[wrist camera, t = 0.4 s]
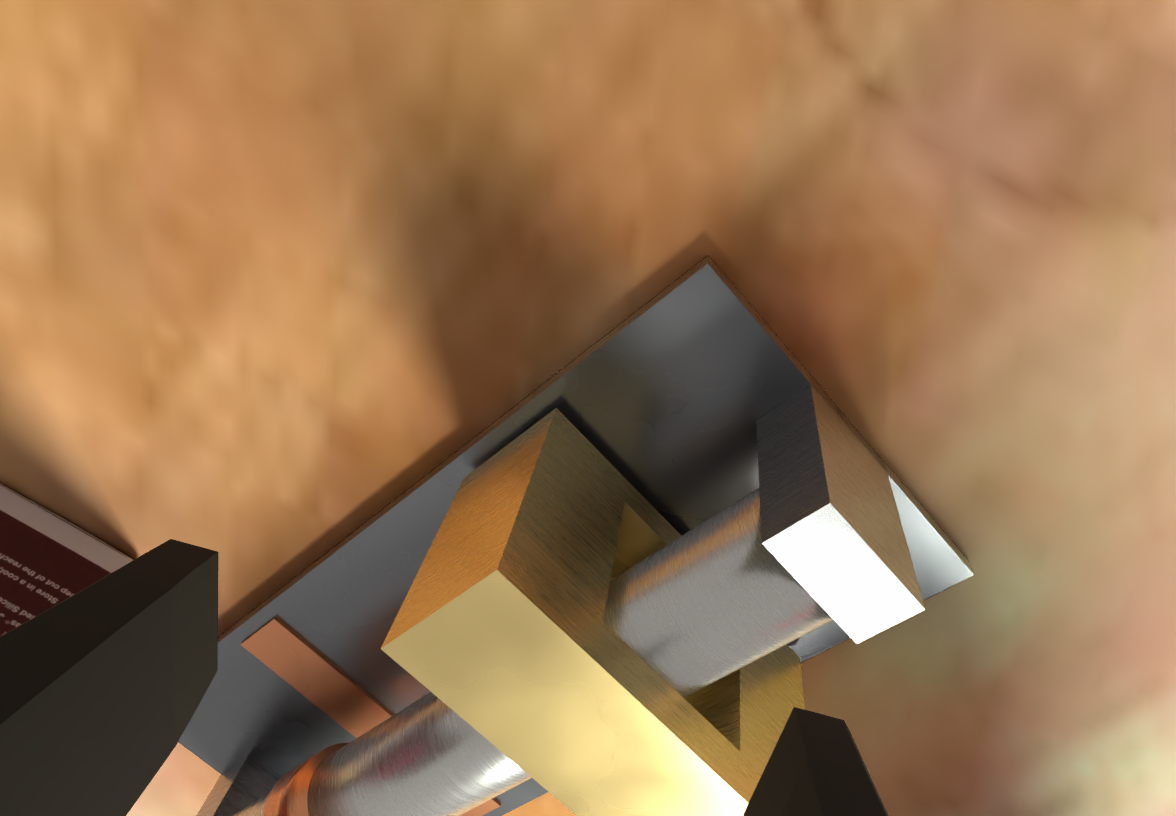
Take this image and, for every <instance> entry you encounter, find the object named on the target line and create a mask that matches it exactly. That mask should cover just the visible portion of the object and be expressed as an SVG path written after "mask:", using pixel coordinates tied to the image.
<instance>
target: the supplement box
mask: <svg viewBox="0 0 1176 816" xmlns="http://www.w3.org/2000/svg"><path fill="white" fill-rule="evenodd" d="M131 561H133V559H131V558H130V557H128V556H126V555H125V554H123V553H121V552H120V551H118V550H116V549H115V548H113V547H111V546H110V545H108V544H106V543H105V542H103V541H101V540H100V539H98V538H96V537H94V536H93V535H91V534H89V533H87V532H86V531H84V530H83V529H81V528H79V527H77V526H76V525H74V524H72V523H70V522H69V521H67V520H65V519H63V518H62V517H60V516H58V515H56V514H54V513H53V512H51V511H49V510H47V509H45V508H43V507H42V506H40V505H38V504H36V503H35V502H33V501H31V500H29V499H27V498H25V497H24V496H22V495H20V494H18V493H17V492H15V491H13V490H11V489H9V488H7V487H6V486H4V485H2V484H0V636H2V635H3V634H5V633H7V632H9V631H11V630H12V629H14V628H16V627H18V626H20V625H21V624H23V623H25V622H27V621H29V620H30V619H32V618H34V617H36V616H38V615H39V614H41V613H43V612H45V611H47V610H48V609H50V608H52V607H54V606H55V605H57V604H59V603H61V602H62V601H64V600H66V599H68V598H69V597H71V596H73V595H74V594H76V593H78V592H80V591H81V590H83V589H85V588H87V587H88V586H90V585H92V584H93V583H95V582H97V581H99V580H100V579H102V578H104V577H105V576H107V575H109V574H111V573H112V572H114V571H116V570H117V569H119V568H121V567H123V566H124V565H126V564H128V563H129V562H131Z"/></svg>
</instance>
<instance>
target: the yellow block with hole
mask: <svg viewBox="0 0 1176 816" xmlns="http://www.w3.org/2000/svg"><path fill="white" fill-rule="evenodd" d="M680 536H681V535H680V534H679V533H678V532H677V531H676V530H675V529H674V528H673V527H672V525H671V524H670V523H669V522H668V521H667V520H666V519H665V518H664V517H663V516H662V515H661V514H660V513H659V512H658V511H657V510H656V509H655V508H654V507H653V506H652V505H651V504H650V503H649V502H648V501H647V500H646V499H645V498H644V497H643V496H642V495H641V494H640V493H639V492H638V491H637V490H636V489H635V488H634V487H633V485H632V484H631V483H630V482H629V481H628V480H627V479H626V478H625V477H624V476H623V475H622V474H621V473H620V472H619V471H618V470H617V469H616V468H615V467H614V466H613V465H612V464H611V463H610V462H609V461H608V460H607V459H606V458H605V457H604V456H603V455H602V454H601V453H600V452H599V451H598V450H597V449H596V448H595V447H594V446H593V444H592V443H591V442H590V441H589V440H588V439H587V438H586V437H585V436H584V435H583V434H582V433H581V432H580V431H579V430H578V429H577V428H576V427H575V426H574V425H573V424H572V423H571V422H570V421H569V420H568V419H567V418H566V417H565V416H564V415H563V414H562V413H561V412H560V411H559V410H558V409H557V408H555V409H554V410H553V411H551V412H550V413H549V414H547V415H546V416H545V417H543V418H542V419H541V420H539V421H538V422H537V423H536V424H534V425H533V426H532V427H530V428H529V429H528V430H526V431H525V432H524V433H522V434H521V435H520V436H518V437H517V438H516V439H514V440H513V441H512V442H510V443H509V444H508V445H506V446H505V447H504V448H503V449H501V450H500V451H499V452H497V453H496V454H495V455H493V456H492V457H491V458H489V459H488V460H487V461H485V462H484V463H483V464H481V465H480V466H479V467H477V468H476V469H475V470H473V471H472V472H471V473H470V474H468V475H467V476H466V477H464V479H463V481H462V483H461V485H460V487H459V489H458V491H457V493H456V495H455V497H454V499H453V501H452V503H451V505H450V507H449V509H448V511H447V514H446V516H445V518H444V520H443V522H442V524H441V526H440V528H439V530H438V532H437V534H436V536H435V538H434V540H433V542H432V544H431V546H430V548H429V550H428V552H427V554H426V557H425V559H424V561H423V563H422V565H421V567H420V569H419V571H418V573H417V575H416V577H415V579H414V581H413V583H412V585H411V587H410V589H409V591H408V593H407V595H406V598H405V600H404V602H403V604H402V606H401V608H400V610H399V612H398V614H397V616H396V618H395V620H394V622H393V624H392V626H391V628H390V630H389V632H388V634H387V636H386V639H385V641H384V643H383V645H382V647H381V650H383V651H384V652H385V653H386V654H387V655H388V656H390V657H391V658H392V659H393V660H394V661H395V662H397V663H398V664H399V665H400V666H401V667H402V668H404V669H405V670H406V671H407V672H408V673H410V674H411V675H412V676H413V677H414V678H415V679H417V680H418V681H419V682H420V683H421V684H422V685H424V686H425V687H426V688H427V689H428V690H430V691H431V692H432V693H433V694H434V695H435V696H437V697H438V698H439V699H440V700H441V701H442V702H444V703H445V704H446V705H447V706H448V707H449V708H451V709H452V710H453V711H454V712H455V713H457V714H458V715H459V716H460V717H461V718H462V719H464V720H465V721H466V722H467V723H468V724H469V725H471V726H472V727H473V728H474V729H475V730H476V731H478V732H479V733H480V734H481V735H482V736H484V737H485V738H486V739H487V740H488V741H489V742H491V743H492V744H493V745H494V746H495V747H496V748H498V749H499V750H500V751H501V752H502V753H504V754H505V755H506V756H507V757H508V758H509V759H511V760H512V761H513V762H514V763H515V764H516V765H518V766H519V767H520V768H521V769H522V770H523V771H525V772H526V773H527V774H528V775H529V776H531V777H532V778H533V779H534V780H535V781H536V782H538V783H539V784H540V785H541V786H542V787H543V788H545V789H546V790H547V791H548V792H549V793H551V794H552V795H553V796H554V797H555V798H556V799H558V800H559V801H560V802H561V803H562V804H563V805H565V806H566V807H567V808H568V809H569V810H570V811H572V812H573V813H574V814H575V815H576V816H743V814H744V812H745V810H746V807H747V805H748V803H749V801H750V799H751V797H752V795H753V793H754V790H755V788H756V786H757V784H758V782H759V780H760V778H761V776H762V773H763V771H764V769H765V767H766V765H767V763H768V761H769V759H770V757H771V754H772V752H773V750H774V748H775V746H776V744H777V742H778V740H779V737H780V735H781V733H782V731H783V729H784V727H785V725H786V723H787V720H788V718H789V716H790V714H791V712H792V710H793V708H794V707H796V708H800V709H803V710H805V705H804V694H803V682H802V671H801V660H800V657H799V656H798V655H797V654H796V653H795V652H794V651H793V650H792V649H791V648H790V646H789V645H788V644H786V645H784V646H782V647H780V648H778V649H776V650H775V651H773V652H771V653H769V654H767V655H765V656H763V657H761V658H759V659H757V660H755V661H754V662H752V663H750V664H748V665H746V666H744V667H742V668H740V669H738V670H736V671H735V672H733V673H731V674H729V675H727V676H725V677H723V678H721V679H719V680H717V681H715V682H714V683H712V684H710V685H708V686H706V687H704V688H702V689H700V690H698V691H696V692H694V693H693V694H691V695H689V696H687V697H685V698H683V697H682V696H681V695H680V694H679V693H678V692H677V691H676V690H675V689H674V688H673V687H672V686H671V685H669V684H668V683H667V682H666V681H665V680H664V679H663V678H662V677H661V676H660V675H659V674H658V673H657V672H656V671H655V670H654V669H653V668H652V667H651V666H649V665H648V664H647V663H646V662H645V661H644V660H643V659H642V658H641V657H640V656H639V655H638V654H637V653H636V652H635V651H634V650H633V649H632V648H631V647H629V646H628V645H627V644H626V643H625V642H624V641H623V640H622V639H621V638H620V637H619V636H618V635H617V634H616V633H615V632H614V631H613V630H612V629H611V628H609V627H608V626H607V625H606V624H605V623H604V622H603V621H602V620H603V615H604V609H605V604H606V599H607V594H608V588H609V583H610V580H611V579H613V578H615V577H616V576H618V575H619V574H621V573H623V572H624V571H626V570H627V569H629V568H631V567H632V566H634V565H636V564H637V563H639V562H640V561H642V560H644V559H645V558H647V557H648V556H650V555H652V554H653V553H655V552H656V551H658V550H660V549H661V548H663V547H664V546H666V545H668V544H669V543H671V542H672V541H674V540H676V539H677V538H679V537H680Z"/></svg>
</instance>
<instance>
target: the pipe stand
mask: <svg viewBox="0 0 1176 816" xmlns="http://www.w3.org/2000/svg"><path fill="white" fill-rule="evenodd" d="M555 408H557V409H558V410H559V411H560V412H561V413H562V414H563V415H564V416H565V417H566V418H567V419H568V420H569V421H570V422H571V423H572V424H573V425H574V426H575V427H576V428H577V429H578V430H579V431H580V432H581V433H582V434H583V435H584V436H585V437H586V438H587V439H588V440H589V441H590V442H591V443H592V444H593V446H594V447H595V448H596V449H597V450H598V451H599V452H600V453H601V454H602V455H603V456H604V457H605V458H606V459H607V460H608V461H609V462H610V463H611V464H612V465H613V466H614V467H615V468H616V469H617V470H618V471H619V472H620V473H621V474H622V475H623V476H624V477H625V478H626V479H627V480H628V481H629V482H630V483H631V484H632V485H633V487H634V488H635V489H636V490H637V491H638V492H639V493H640V494H641V495H642V496H643V497H644V498H645V499H646V500H647V501H648V502H649V503H650V504H651V505H652V506H653V507H654V508H655V509H656V510H657V511H658V512H659V513H660V514H661V515H662V516H663V517H664V518H665V519H666V520H667V521H668V522H669V523H670V524H671V525H672V527H673V528H674V529H675V530H676V531H677V532H678V533H679V534H680V535H681V536H680V537H679V538H677V539H676V540H674V541H672V542H671V543H669V544H668V545H666V546H664V547H663V548H661V549H660V550H658V551H656V552H655V553H653V554H652V555H650V556H648V557H647V558H645V559H644V560H642V561H640V562H639V563H637V564H636V565H634V566H632V567H631V568H629V569H627V570H626V571H624V572H623V573H621V574H619V575H618V576H616V577H615V578H613V579H611V580H610V583H609V588H608V594H607V599H606V604H605V609H604V615H603V620H602V621H603V622H604V623H605V624H606V625H607V626H608V627H609V628H611V629H612V630H613V631H614V632H615V633H616V634H617V635H618V636H619V637H620V638H621V639H622V640H623V641H624V642H625V643H626V644H627V645H628V646H629V647H631V648H632V649H633V650H634V651H635V652H636V653H637V654H638V655H639V656H640V657H641V658H642V659H643V660H644V661H645V662H646V663H647V664H648V665H649V666H651V667H652V668H653V669H654V670H655V671H656V672H657V673H658V674H659V675H660V676H661V677H662V678H663V679H664V680H665V681H666V682H667V683H668V684H669V685H671V686H672V687H673V688H674V689H675V690H676V691H677V692H678V693H679V694H680V695H681V696H682V697H683V698H685V697H687V696H689V695H691V694H693V693H694V692H696V691H698V690H700V689H702V688H704V687H706V686H708V685H710V684H712V683H714V682H715V681H717V680H719V679H721V678H723V677H725V676H727V675H729V674H731V673H733V672H735V671H736V670H738V669H740V668H742V667H744V666H746V665H748V664H750V663H752V662H754V661H755V660H757V659H759V658H761V657H763V656H765V655H767V654H769V653H771V652H773V651H775V650H776V649H778V648H780V647H782V646H784V645H786V644H788V645H789V646H790V648H791V649H792V650H793V651H794V652H795V653H796V654H797V655H798V656H799V657H800V660H801V663H802V662H804V661H806V660H808V659H810V658H812V657H814V656H816V655H818V654H820V653H822V652H824V651H826V650H827V649H829V648H831V647H833V646H835V645H837V644H839V643H841V642H843V641H845V640H847V639H849V638H851V639H852V640H853V641H854V642H855V643H856V644H859V643H861V642H863V641H865V640H867V639H869V638H871V637H873V636H875V635H877V634H879V633H881V632H883V631H885V630H887V629H889V628H891V627H893V626H895V625H897V624H899V623H901V622H903V621H905V620H906V619H908V618H910V617H912V616H914V615H916V614H918V613H920V612H922V611H924V610H926V609H925V606H924V602H923V601H924V600H926V599H928V598H930V597H932V596H933V595H935V594H937V593H939V592H941V591H943V590H945V589H947V588H949V587H951V586H953V585H955V584H957V583H959V582H961V581H963V580H965V579H967V578H969V577H971V576H973V575H974V573H973V571H972V568H971V565H970V563H969V561H968V559H967V558H966V557H965V556H964V555H963V554H962V552H961V551H960V550H959V549H958V548H957V547H956V545H955V544H954V543H953V542H952V541H951V539H950V538H949V537H948V536H947V535H946V534H945V532H944V531H943V530H942V529H941V528H940V527H939V525H938V524H937V523H936V522H935V521H934V520H933V518H932V517H931V516H930V515H929V514H928V513H927V511H926V510H925V509H924V508H923V507H922V505H921V504H920V503H919V502H918V501H917V500H916V498H915V497H914V496H913V495H912V494H911V493H910V491H909V490H908V489H907V488H906V487H905V486H904V484H903V483H902V482H901V481H900V480H899V479H898V477H897V476H896V475H895V474H894V473H893V471H892V470H891V469H890V468H889V467H888V466H887V464H886V463H885V462H884V461H883V460H882V459H881V457H880V456H879V455H878V454H877V453H876V452H875V450H874V449H873V448H872V447H871V446H870V445H869V443H868V442H867V441H866V440H865V439H864V437H863V436H862V435H861V434H860V433H859V432H858V430H857V429H856V428H855V427H854V426H853V425H852V423H851V422H850V421H849V420H848V419H847V418H846V416H845V415H844V414H843V413H842V412H841V411H840V409H839V408H838V407H837V406H836V405H835V403H834V402H833V401H832V400H831V399H830V398H829V396H828V395H827V394H826V393H825V392H824V391H823V389H822V388H821V387H820V386H819V385H818V384H817V382H816V381H815V380H814V379H813V378H812V377H811V375H810V374H809V373H808V372H807V371H806V369H805V368H804V367H803V366H802V365H801V364H800V362H799V361H798V360H797V359H796V358H795V357H794V355H793V354H792V353H791V352H790V351H789V350H788V348H787V347H786V346H785V345H784V344H783V343H782V341H781V340H780V339H779V338H778V337H777V335H776V334H775V333H774V332H773V331H772V330H771V328H770V327H769V326H768V325H767V324H766V323H765V321H764V320H763V319H762V318H761V317H760V316H759V314H758V313H757V312H756V311H755V310H754V309H753V307H752V306H751V305H750V304H749V303H748V301H747V300H746V299H745V298H744V297H743V296H742V294H741V293H740V292H739V291H738V290H737V289H736V287H735V286H734V285H733V284H732V283H731V282H730V280H729V279H728V278H727V277H726V276H725V275H724V273H723V272H722V271H721V270H720V269H719V267H718V266H717V265H716V264H715V263H714V262H713V260H712V259H711V258H710V257H709V256H707V257H706V258H704V259H703V260H702V261H701V262H699V263H698V264H697V265H695V266H694V267H693V268H692V269H690V270H689V271H688V272H686V273H685V274H684V275H683V276H681V277H680V278H679V279H678V280H676V281H675V282H674V283H672V284H671V285H670V286H669V287H667V288H666V289H665V290H663V291H662V292H661V293H660V294H658V295H657V296H656V297H654V298H653V299H652V300H651V301H649V302H648V303H647V304H645V305H644V306H643V307H642V308H640V309H639V310H638V311H636V312H635V313H634V314H633V315H631V316H630V317H629V318H627V319H626V320H625V321H624V322H622V323H621V324H620V325H618V326H617V327H616V328H615V329H613V330H612V331H611V332H610V333H608V334H607V335H606V336H604V337H603V338H602V339H601V340H599V341H598V342H597V343H595V344H594V345H593V346H592V347H590V348H589V349H588V350H586V351H585V352H584V353H583V354H581V355H580V356H579V357H577V358H576V359H575V360H574V361H572V362H571V363H570V364H568V365H567V366H566V367H565V368H563V369H562V370H561V371H559V372H558V373H557V374H556V375H554V376H553V377H552V378H551V379H549V380H548V381H547V382H545V383H544V384H543V385H542V386H540V387H539V388H538V389H536V390H535V391H534V392H533V393H531V394H530V395H529V396H527V397H526V398H525V399H524V400H522V401H521V402H520V403H518V404H517V405H516V406H515V407H513V408H512V409H511V410H509V411H508V412H507V413H506V414H504V415H503V416H502V417H500V418H499V419H498V420H497V421H495V422H494V423H493V424H491V425H490V426H489V427H488V428H486V429H485V430H484V431H483V432H481V433H480V434H479V435H477V436H476V437H475V438H474V439H472V440H471V441H470V442H468V443H467V444H466V445H465V446H463V447H462V448H461V449H459V450H458V451H457V452H456V453H454V454H453V455H452V456H450V457H449V458H448V459H447V460H445V461H444V462H443V463H441V464H440V465H439V466H438V467H436V468H435V469H434V470H432V471H431V472H430V473H429V474H427V475H426V476H425V477H424V478H422V479H421V480H420V481H418V482H417V483H416V484H415V485H413V486H412V487H411V488H409V489H408V490H407V491H406V492H404V493H403V494H402V495H400V496H399V497H398V498H397V499H395V500H394V501H393V502H391V503H390V504H389V505H388V506H386V507H385V508H384V509H382V510H381V511H380V512H379V513H377V514H376V515H375V516H373V517H372V518H371V519H370V520H368V521H367V522H366V523H364V524H363V525H362V526H361V527H359V528H358V529H357V530H356V531H354V532H353V533H352V534H350V535H349V536H348V537H347V538H345V539H344V540H343V541H341V542H340V543H339V544H338V545H336V546H335V547H334V548H332V549H331V550H330V551H329V552H327V553H326V554H325V555H323V556H322V557H321V558H320V559H318V560H317V561H316V562H314V563H313V564H312V565H311V566H309V567H308V568H307V569H305V570H304V571H303V572H302V573H300V574H299V575H298V576H297V577H295V578H294V579H293V580H291V581H290V582H289V583H288V584H286V585H285V586H284V587H282V588H281V589H280V590H279V591H277V592H276V593H275V594H273V595H272V596H271V597H270V598H268V599H267V600H266V601H264V602H263V603H262V604H261V605H259V606H258V607H257V608H255V609H254V610H253V611H252V612H250V613H249V614H248V615H246V616H245V617H244V618H243V619H241V620H240V621H239V622H238V623H236V624H235V625H234V626H232V627H231V628H230V629H229V630H227V631H226V632H225V633H223V634H222V635H221V636H220V637H218V671H217V672H216V674H215V676H214V678H213V680H212V682H211V684H210V685H209V687H208V689H207V691H206V693H205V695H204V696H203V698H202V700H201V702H200V704H199V706H198V707H197V709H196V711H195V713H194V715H193V716H192V718H191V720H190V722H189V723H188V725H187V727H186V729H185V730H184V732H183V734H182V736H181V737H180V739H179V741H178V742H179V743H180V744H182V745H183V746H184V747H186V748H187V749H188V750H190V751H191V752H192V753H194V754H195V755H196V756H198V757H199V758H200V759H202V760H203V761H204V762H206V763H207V764H208V765H210V766H211V767H212V768H214V769H215V770H216V771H218V772H219V773H220V774H221V776H220V778H219V779H218V781H217V783H216V784H215V786H214V788H213V789H212V791H211V793H210V794H209V796H208V798H207V799H206V801H205V803H204V804H203V806H202V807H201V809H200V811H199V812H198V814H197V816H502V815H504V814H506V813H508V812H510V811H512V810H514V809H515V808H517V807H519V806H521V805H523V804H525V803H527V802H529V801H531V800H533V799H535V798H537V797H539V796H541V795H543V794H545V793H547V792H548V791H547V790H546V789H545V788H543V787H542V786H541V785H540V784H539V783H538V782H536V781H535V780H534V779H533V778H532V777H531V776H529V775H528V774H527V773H526V772H525V771H523V770H522V769H521V768H520V767H519V766H518V765H516V764H515V763H514V762H513V761H512V760H511V759H509V758H508V757H507V756H506V755H505V754H504V753H502V752H501V751H500V750H499V749H498V748H496V747H495V746H494V745H493V744H492V743H491V742H489V741H488V740H487V739H486V738H485V737H484V736H482V735H481V734H480V733H479V732H478V731H476V730H475V729H474V728H473V727H472V726H471V725H469V724H468V723H467V722H466V721H465V720H464V719H462V718H461V717H460V716H459V715H458V714H457V713H455V712H454V711H453V710H452V709H451V708H449V707H448V706H447V705H446V704H445V703H444V702H442V701H441V700H440V699H439V698H438V697H437V696H435V695H434V694H433V693H432V692H431V691H430V690H428V689H427V688H426V687H425V686H424V685H422V684H421V683H420V682H419V681H418V680H417V679H415V678H414V677H413V676H412V675H411V674H410V673H408V672H407V671H406V670H405V669H404V668H402V667H401V666H400V665H399V664H398V663H397V662H395V661H394V660H393V659H392V658H391V657H390V656H388V655H387V654H386V653H385V652H384V651H383V650H381V647H382V645H383V643H384V641H385V639H386V636H387V634H388V632H389V630H390V628H391V626H392V624H393V622H394V620H395V618H396V616H397V614H398V612H399V610H400V608H401V606H402V604H403V602H404V600H405V598H406V595H407V593H408V591H409V589H410V587H411V585H412V583H413V581H414V579H415V577H416V575H417V573H418V571H419V569H420V567H421V565H422V563H423V561H424V559H425V557H426V554H427V552H428V550H429V548H430V546H431V544H432V542H433V540H434V538H435V536H436V534H437V532H438V530H439V528H440V526H441V524H442V522H443V520H444V518H445V516H446V514H447V511H448V509H449V507H450V505H451V503H452V501H453V499H454V497H455V495H456V493H457V491H458V489H459V487H460V485H461V483H462V481H463V479H464V477H466V476H467V475H468V474H470V473H471V472H472V471H473V470H475V469H476V468H477V467H479V466H480V465H481V464H483V463H484V462H485V461H487V460H488V459H489V458H491V457H492V456H493V455H495V454H496V453H497V452H499V451H500V450H501V449H503V448H504V447H505V446H506V445H508V444H509V443H510V442H512V441H513V440H514V439H516V438H517V437H518V436H520V435H521V434H522V433H524V432H525V431H526V430H528V429H529V428H530V427H532V426H533V425H534V424H536V423H537V422H538V421H539V420H541V419H542V418H543V417H545V416H546V415H547V414H549V413H550V412H551V411H553V410H554V409H555Z"/></svg>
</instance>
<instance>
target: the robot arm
mask: <svg viewBox="0 0 1176 816" xmlns="http://www.w3.org/2000/svg"><path fill="white" fill-rule="evenodd" d="M217 671H218V552H217V551H213V550H209V549H206V548H202V547H198V546H194V545H191V544H187V543H183V542H180V541H176V540H172V539H170V540H168V541H167V542H165V543H163V544H161V545H160V546H158V547H156V548H154V549H152V550H151V551H149V552H147V553H145V554H143V555H142V556H140V557H138V558H136V559H135V560H133V561H131V562H129V563H128V564H126V565H124V566H123V567H121V568H119V569H117V570H116V571H114V572H112V573H111V574H109V575H107V576H105V577H104V578H102V579H100V580H99V581H97V582H95V583H93V584H92V585H90V586H88V587H87V588H85V589H83V590H81V591H80V592H78V593H76V594H74V595H73V596H71V597H69V598H68V599H66V600H64V601H62V602H61V603H59V604H57V605H55V606H54V607H52V608H50V609H48V610H47V611H45V612H43V613H41V614H39V615H38V616H36V617H34V618H32V619H30V620H29V621H27V622H25V623H23V624H21V625H20V626H18V627H16V628H14V629H12V630H11V631H9V632H7V633H5V634H3V635H2V636H0V816H126V815H127V813H128V812H129V811H130V809H131V808H132V806H133V805H134V804H135V802H136V801H137V799H138V798H139V797H140V795H141V794H142V792H143V791H144V790H145V788H146V787H147V786H148V784H149V783H150V781H151V780H152V779H153V777H154V776H155V774H156V773H157V772H158V770H159V769H160V767H161V766H162V765H163V763H164V762H165V760H166V759H167V757H168V756H169V755H170V753H171V752H172V750H173V749H174V747H175V746H176V744H177V742H178V741H179V739H180V737H181V736H182V734H183V732H184V730H185V729H186V727H187V725H188V723H189V722H190V720H191V718H192V716H193V715H194V713H195V711H196V709H197V707H198V706H199V704H200V702H201V700H202V698H203V696H204V695H205V693H206V691H207V689H208V687H209V685H210V684H211V682H212V680H213V678H214V676H215V674H216V672H217ZM743 816H888V814H887V812H886V810H885V807H884V805H883V803H882V801H881V799H880V797H879V795H878V792H877V790H876V788H875V786H874V784H873V782H872V779H871V777H870V775H869V773H868V771H867V768H866V766H865V764H864V762H863V760H862V757H861V755H860V753H859V751H858V748H857V746H856V744H855V742H854V740H853V737H852V735H851V733H850V731H849V729H848V727H847V725H846V724H845V722H844V720H841V719H837V718H833V717H829V716H826V715H822V714H818V713H815V712H811V711H807V710H803V709H800V708H796V707H794V708H793V710H792V712H791V714H790V716H789V718H788V720H787V723H786V725H785V727H784V729H783V731H782V733H781V735H780V737H779V740H778V742H777V744H776V746H775V748H774V750H773V752H772V754H771V757H770V759H769V761H768V763H767V765H766V767H765V769H764V771H763V773H762V776H761V778H760V780H759V782H758V784H757V786H756V788H755V790H754V793H753V795H752V797H751V799H750V801H749V803H748V805H747V807H746V810H745V812H744V814H743Z"/></svg>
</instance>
